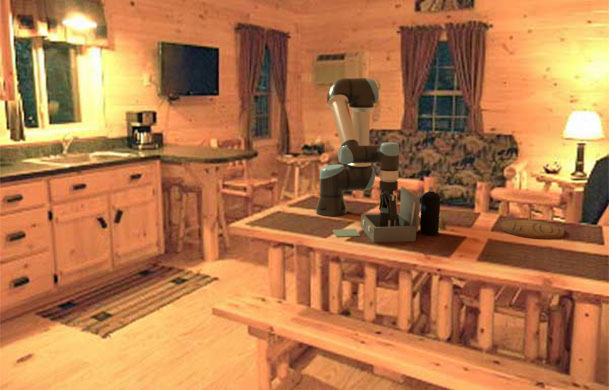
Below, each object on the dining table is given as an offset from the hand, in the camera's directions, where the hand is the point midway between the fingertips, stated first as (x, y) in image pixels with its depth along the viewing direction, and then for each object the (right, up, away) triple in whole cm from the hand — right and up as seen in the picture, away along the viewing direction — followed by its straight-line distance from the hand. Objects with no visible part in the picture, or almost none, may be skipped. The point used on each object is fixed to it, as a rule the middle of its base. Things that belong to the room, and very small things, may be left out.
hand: (387, 231), depth 216 cm
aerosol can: (+18, -1, +1) cm, 18 cm away
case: (0, -1, 0) cm, 1 cm away
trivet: (+63, -1, +5) cm, 63 cm away
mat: (-17, -1, +1) cm, 17 cm away
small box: (0, -1, 0) cm, 1 cm away
